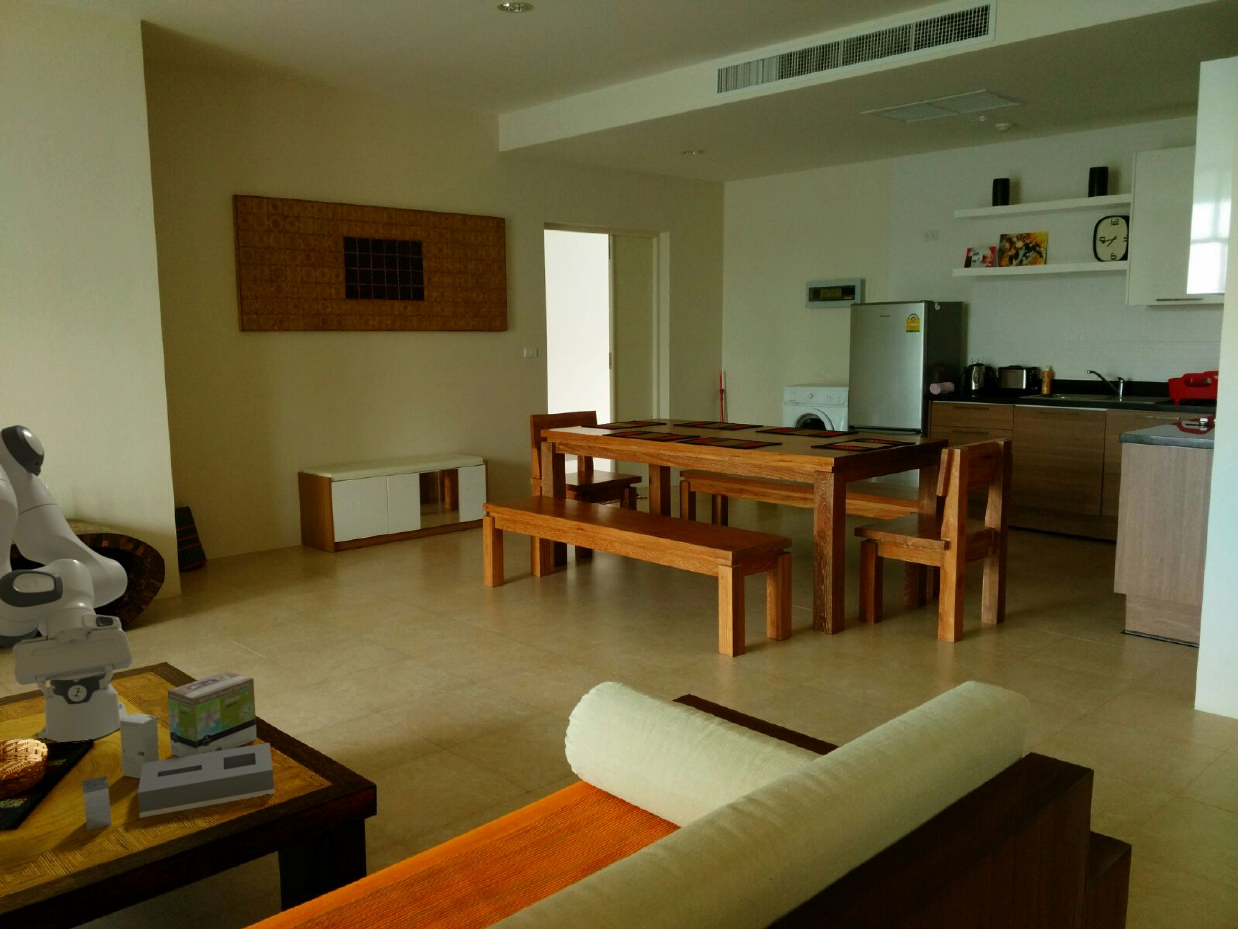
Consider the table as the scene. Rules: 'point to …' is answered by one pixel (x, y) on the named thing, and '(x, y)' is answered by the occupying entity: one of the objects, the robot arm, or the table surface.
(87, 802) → the grey square-topped block
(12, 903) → the table surface
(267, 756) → the caddy
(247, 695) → the tea box
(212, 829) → the table surface
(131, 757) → the skincare box
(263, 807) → the table surface
